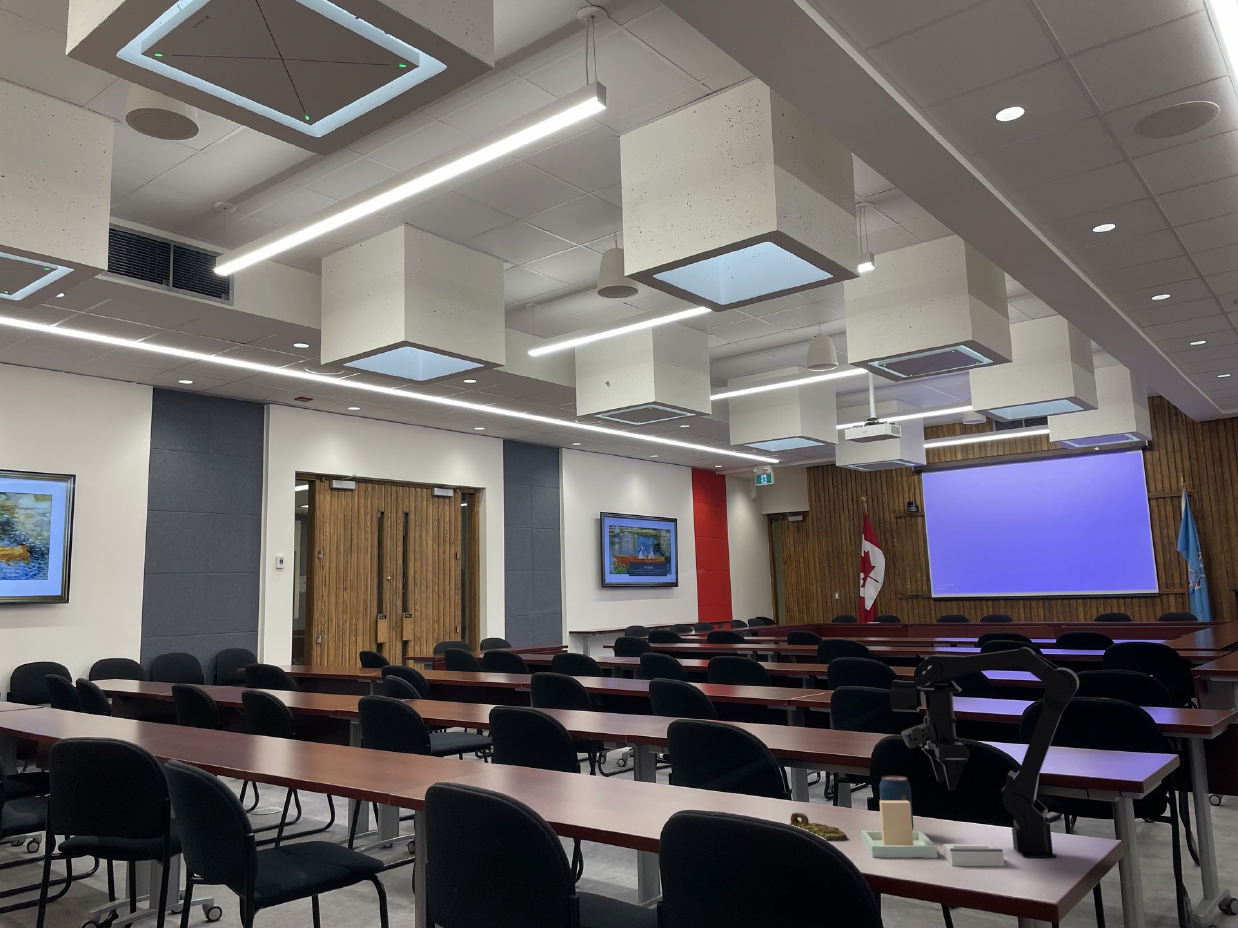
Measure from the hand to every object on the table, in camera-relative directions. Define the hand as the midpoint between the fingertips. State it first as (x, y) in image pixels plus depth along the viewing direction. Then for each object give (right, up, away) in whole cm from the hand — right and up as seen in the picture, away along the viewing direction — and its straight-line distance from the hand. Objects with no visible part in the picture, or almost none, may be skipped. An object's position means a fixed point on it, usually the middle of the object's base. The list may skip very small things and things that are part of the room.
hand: (945, 786), depth 189 cm
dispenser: (0, -10, -15) cm, 18 cm away
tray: (-12, -12, -5) cm, 17 cm away
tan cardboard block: (-12, -11, -5) cm, 17 cm away
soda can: (-8, -14, +9) cm, 18 cm away
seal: (-26, -15, +8) cm, 31 cm away
